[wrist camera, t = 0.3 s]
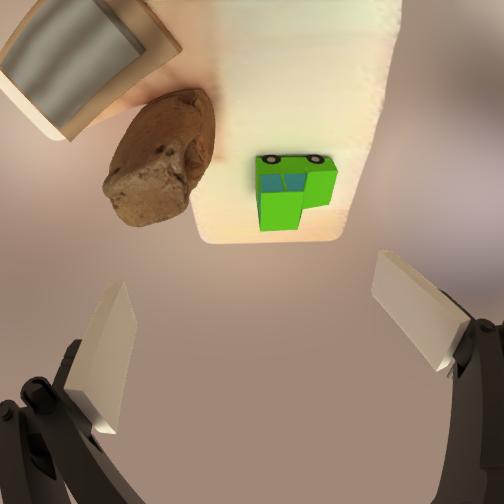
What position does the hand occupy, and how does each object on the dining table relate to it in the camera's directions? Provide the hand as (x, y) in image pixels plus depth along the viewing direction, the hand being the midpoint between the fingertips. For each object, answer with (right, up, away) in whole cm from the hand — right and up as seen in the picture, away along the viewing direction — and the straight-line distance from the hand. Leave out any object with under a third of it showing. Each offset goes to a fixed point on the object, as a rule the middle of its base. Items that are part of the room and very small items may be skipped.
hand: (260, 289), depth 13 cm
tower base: (-24, +31, +10) cm, 40 cm away
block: (-11, +23, +23) cm, 34 cm away
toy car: (+7, +16, +34) cm, 38 cm away
